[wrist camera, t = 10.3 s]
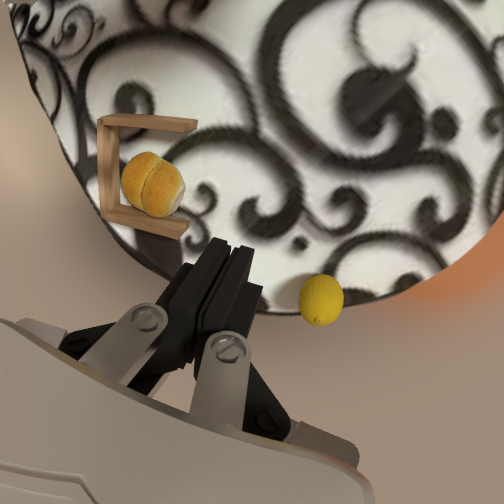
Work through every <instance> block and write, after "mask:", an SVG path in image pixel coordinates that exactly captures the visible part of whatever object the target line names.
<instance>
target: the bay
mask: <svg viewBox="0 0 504 504" xmlns="http://www.w3.org/2000/svg"><path fill="white" fill-rule="evenodd" d="M197 125H198V120H195V119H187V118H178V117H168V116H157V115H145V114H129V113H115V114H111V115H107V116H103V117H100V118H99V119H97V160H98V183H99V198H100V211H101V217H102V218H104V220H107V221H111V222H115V223H118V224H122V225H125V226H129V227H133V228H136V229H140V230H144V231H147V232H151V233H155V234H158V235H162V236H165V237H169V238H173V239H176V240H178V239H179V238H180V237H181V236H182V234H183V233H184V232H185V231H186V230H187V229H188V228H189V222H190V221H189V220H185V219H181V218H176V217H172V216H166V217H164V218H156V217H151V216H150V215H148V214H147V213H146V212H144V211H142V210H140V209H138V208H136V207H131V206H127V205H123V204H120V180H119V134H120V126H127V127H138V128H149V129H158V130H167V131H175V132H182V133H184V132H187V131H190V130H193V129H196V128H197Z"/></svg>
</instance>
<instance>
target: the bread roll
mask: <svg viewBox="0 0 504 504" xmlns="http://www.w3.org/2000/svg"><path fill="white" fill-rule="evenodd" d="M121 184H122V189H123V191H124V194H125V196H126V197H127V199H128V201H129V202H130V203H131V204H132V205H133V206H134V207H136V208H138V209H140V210H142V211H144V212H146V213H147V214H148V215H150V216H151V217H156V218H164V217H166V216H168V215H170V214H171V213H173V212H174V211H176V209H177V208H178V206H179V204H180V202H181V200H182V197H183V195H184V192H185V188H186V187H185V183H184V181H183V179H182V176H181V174H180V172H179V171H178V169H177V168H176V167H175V166H173V165H172V164H171V163H169V162H168V161H165V160H164V159H162V158H160V157H159V156H157V155H156V154H154V153H152V152H143V153H140V154H138V155H136V156H135V157H133V158H132V159H131V160H130V161H129V162H128V164H127V165H126V166H125V168H124V170H123V173H122V179H121Z"/></svg>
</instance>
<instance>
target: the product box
mask: <svg viewBox="0 0 504 504" xmlns="http://www.w3.org/2000/svg"><path fill="white" fill-rule="evenodd" d="M2 1H3V4H9V3H27V4H33V3H34V2H35V1H36V0H2Z"/></svg>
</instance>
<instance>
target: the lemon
mask: <svg viewBox="0 0 504 504" xmlns="http://www.w3.org/2000/svg"><path fill="white" fill-rule="evenodd" d="M343 298H344V297H343V292H342V288H341V286H340V284H339V283H338V281H336V280H335V279H334V278H333V277H331V276H329V275H324V274H319V275H315V276H312V277H311V278H309V279H308V280H307V281H306V282H305V283H304V284H303V286H302V288H301V290H300V294H299V308H300V312H301V314H302V316H303V318H304V319H305V320H306V321H307V322H309V323H310V324H313V325H316V326H324V325H328V324H330V323H332V322H333V321H334V320H335V319H336V318H337V317H338V316H339V314H340V312H341V310H342V307H343Z"/></svg>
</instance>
